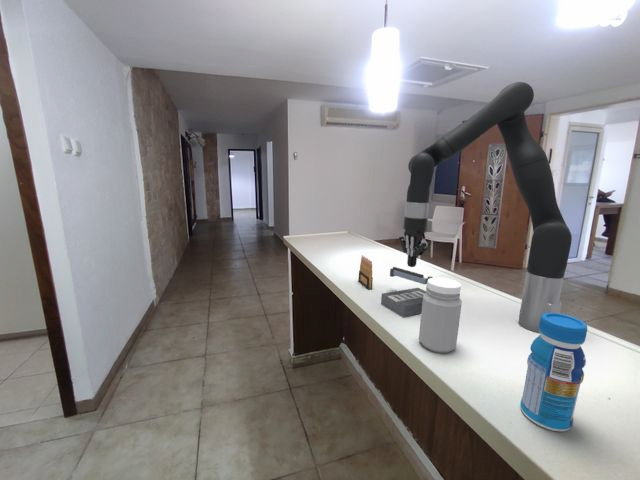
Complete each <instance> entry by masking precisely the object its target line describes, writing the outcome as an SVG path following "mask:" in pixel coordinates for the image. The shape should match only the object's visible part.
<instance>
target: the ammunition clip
mask: <svg viewBox="0 0 640 480" xmlns="http://www.w3.org/2000/svg"><path fill="white" fill-rule="evenodd" d="M373 279H374V278H373V261H372V260H371V259H369V258H367V257H366V256H364V255H361V259H360V264H359V271H358V279H357V280H358V283H359V284H360V285H362V286H363V287H364V288H365V289H366V290H367V291H370V290H373Z"/></svg>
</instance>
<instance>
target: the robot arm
mask: <svg viewBox="0 0 640 480" xmlns="http://www.w3.org/2000/svg"><path fill="white" fill-rule="evenodd" d="M534 96H535V92H534V89H533V87H532V86H531V85H530V84H528V83H527V82H524V81H515V82H512V83H510V84H508V85H507V86H505V87H504V88H503V89H501V91H499V93H498V94H497V95H496V96H495V97H494V98H492V100H491V101H489V103H487V104H486V105H485V106H484V107H482V108H481V109H480V110H479V111H478V112H476V113H475V114H473V115H472V116H470V117H469V118H468V119H466V120H465V121H463V122H462V123H460V124H459V125H457V126H456V127H455V128H453V129H452V130H450V131H449V132H447V133H445V134H444V135H443V136H442V137H440V138H438V139H437V140H436V141H435V142H434V143H432V144H431V145H430V146H428V147H426V148H425V149H423V150H421V151H420V152H417V154H415V155H414V156H413V157H411V158H410V160H409V162H408V164H407V167H408V170H409V173H410V181H409V185H408V187H407V193H406V202H405V207H404V216H403V225H402V227H403V230H404V233H403V235H402V236H399V237H398V240H399V244H400V245H401V247H402V250H403V253H406V255H407V263H406V264H407V266H408V267H409V268H415V267H416V266H417V262H418V261H417V260H418V257H419V256H423V255H424V253H425V252H426V251H427V249H429V247H430V246H431V243H430V242H427V240H426V235H425V232H426V231H427V229H428V221H429V220H428V219H429V213H430V212H429V209H430V206H429V204H430V203H429V202H430V201H429V200H430V191H431V185H432V180H433V178H434V177H433V176H434V171H435V167H438V166H439V165H440V164H441V163H443V162H445V161H448V160H449V159H451V158H453V157H455V156H456V155H457V154H459V153H461V152H462V151H463V150H465V149H466V148H468V147H469V146H470V145H471V144H472V143H474V142H475V141H476V140H477V139H479V138H480V137H481V136H482V135H484V134H485V133H486V132H488V131H489V130H490V129H492V128H493V127H494V126H496V125H497V127H498V129H499V132H500V134H501V137H502V139H503V141H504V142H503V143H504V146H505V149H506V154H507V157H508V159H509V164H510V168H511V171H512V175H513V178H514V182H515V184H516V186H517V189H518V191H519V193H520V195H521V197H522V199H523V201H524V203H525V204H526V207H527V209H528V212H529V216H530V221H531V225H532V231H533V233H532V237H531V242H530V249H529V254H528V260H527V268H526V273H525V274H526V275H525V280H524V285H523V291H522V296H521V303H520V308H519V315H518V324H519V326H521V327H523V328H524V329H526V330H529V331H532V332H534V333H535V332H536V333H540V332H539V324H540V318H541V316H542V314H544V313H559V314H561V312H562V311H561V310H562V305H563V301H561V299H560V298H561V293H562V287H563V283H564V277H565V273H566V270H567V266H568V262H569V256H570V251H571V245H572V240H573V237H572V233H571V231H570V228H569V226H568V225H567V223H566V221H565V219H564V217H563V215H562V214H563V213H562V212H561V209H560V208H559V204H558V200H557V196H556V190H555V189H556V188H555V181H554V177H553V176H554V175H553V172H552V169H551V166H550V162H549V159H548V155H547V153H546V152H545V150H544V149H543V147H542V146H541V145H540V143H539V142H538V141H537V140H536V139H535V138H534V137H533V135H532V134H531V132H530V129H529V127H528V123H527V119H526V114H525V112H526V111H527V110H528V109H529V108H530V106H531V105H532V103H533V100H534Z"/></svg>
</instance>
